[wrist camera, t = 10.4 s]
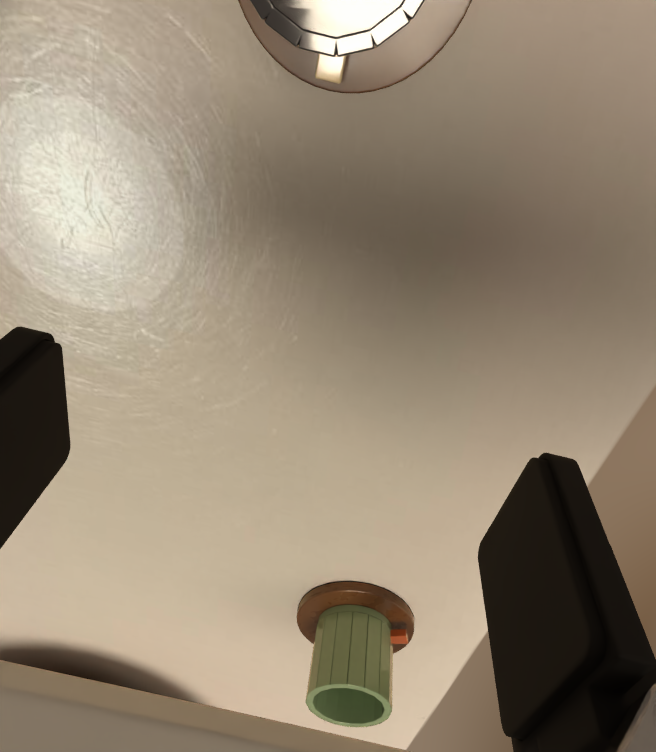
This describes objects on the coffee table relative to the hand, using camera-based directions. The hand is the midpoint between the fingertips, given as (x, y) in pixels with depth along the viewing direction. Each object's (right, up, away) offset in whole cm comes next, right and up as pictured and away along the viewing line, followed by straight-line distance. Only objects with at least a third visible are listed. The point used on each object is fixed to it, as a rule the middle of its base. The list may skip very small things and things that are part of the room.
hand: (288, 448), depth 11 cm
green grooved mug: (+3, -17, +31) cm, 36 cm away
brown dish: (+3, -17, +31) cm, 36 cm away
